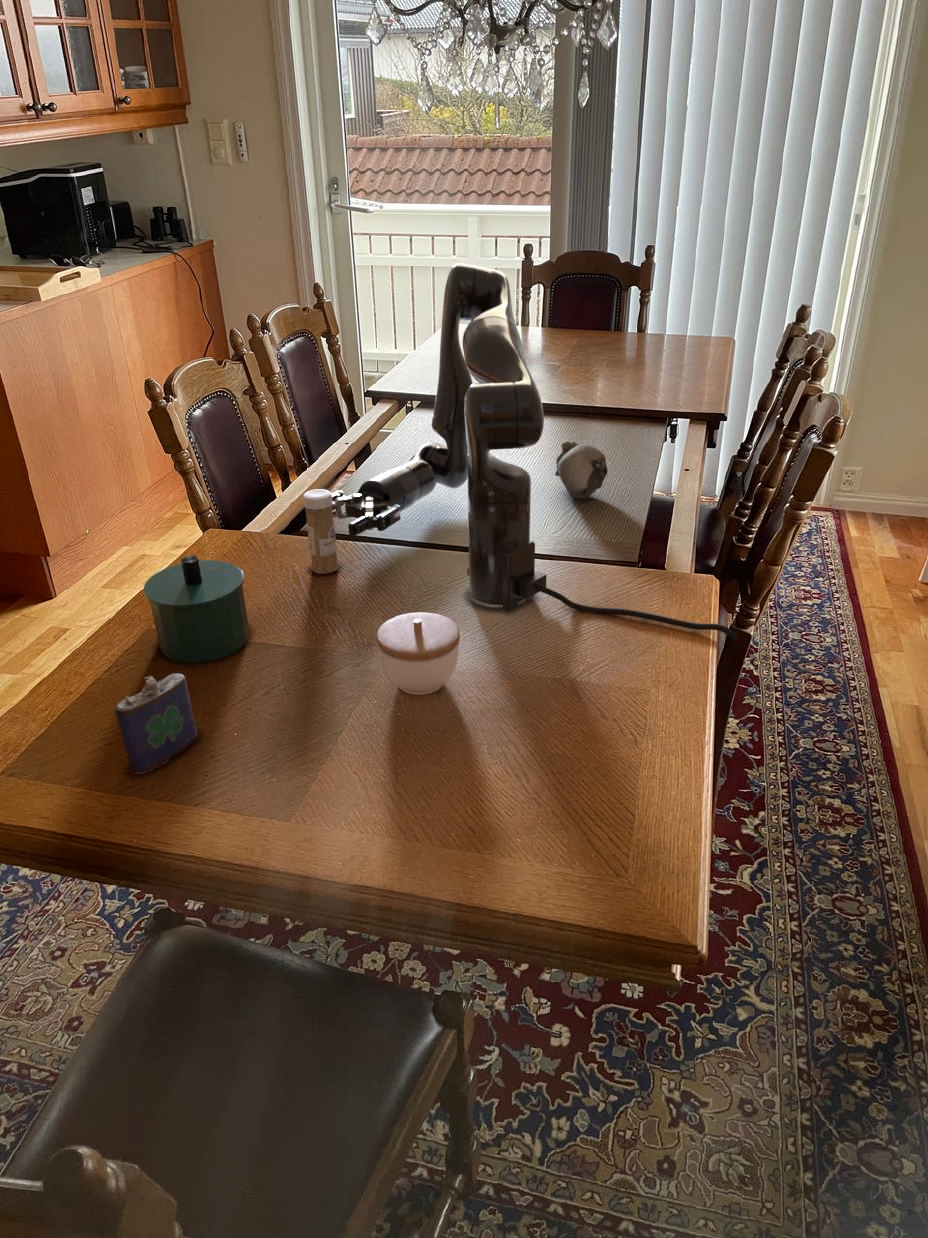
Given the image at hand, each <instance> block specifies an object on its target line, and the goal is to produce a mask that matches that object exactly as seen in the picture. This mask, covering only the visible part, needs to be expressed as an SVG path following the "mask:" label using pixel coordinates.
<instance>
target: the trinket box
mask: <svg viewBox="0 0 928 1238" xmlns="http://www.w3.org/2000/svg"><path fill="white" fill-rule="evenodd" d="M460 633H461V632H460V628H459V626H458V624H457V623H456V622H455V621H453V620H452V619H450V617H447V616H444V615H442V614H439V613H433V612H423V611H419V612H408V613H403V614H400V615H396V616H394V617H392V618H389V619H388V620H386V621H385V622H384V623H382V624H381V626H380V627H379V628H378V630H377V632H376V643H377V647H378V655H379V660H380V664H381V666H382V669H383V671H384V673H385V675H386V677H388V679H389V680H390V682H392V683H393V684H394V685H396V686H397V687H398V688H399V689H400V690H401V691H402V692H404V693H407V694H409V695H414V696H423V695H430V694H432V693H435V692H437V691H439V690H440V689H441V688H442V686H443V685H445V683H447V682H448V680H450V679H451V677H452V675H453V674H454V672H455V670H456V667H457V663H458V661H459V654H460V640H461V639H460V638H461V635H460Z"/></svg>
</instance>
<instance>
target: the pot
mask: <svg viewBox="0 0 928 1238" xmlns="http://www.w3.org/2000/svg"><path fill="white" fill-rule="evenodd" d="M149 605H150V609H151V614H152V618H153V622H154V627H155V631H156V636H157V640H158V643H159V644H158V645H159V649H160V651H161V653H162V654H163V655H164V656H165V657H166V658H168V659H170V660H171V661H174V662H179V663H189V664H197V663H198V664H199V663H200V664H201V663H208V662H212V661H217V660H220V659H222V658H226V657H228V656H230V655H233V654H234V653H236V652H238V651H239V650H240V649H242V648H243V647H244V645H246V643H247V642H248V640H249V639H250V638H249V637H250V632H251V631H250V624H249V618H248V614H247V606H246V600H245V594H244V588H243V585H242V586H241V588H240V589H239V590H238V591H236V592H235V593H234V594H232V595H231V596H229V597H227V598H225V599H223V600H221V601H218V602H215V603H212V604H209V605H204V606H199V607H193V608H168V607H162V606H159V605H156V604H153V603H152V602H150V601H149Z"/></svg>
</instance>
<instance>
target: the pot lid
mask: <svg viewBox="0 0 928 1238" xmlns="http://www.w3.org/2000/svg"><path fill="white" fill-rule="evenodd" d="M244 581H245V576H244V572H243V570H242V569H241V568H240V567H239V566H237V565H235V564H233V563H231V562H227V561H222V560H214V559H203V560H202V559H200V558H199V556H197V555H187V556H184V557H182V558H181V559H180V563H177V564H174V565H171V566H167V567H166V568H163V569H162V570H159V571H158V572H156V573H154V574H153V575H151V576H150V577H149V578H148V579H147V580H146V582H145V583H144V585H143V594H144V597H145V598H146V599H147V601H148V602H149V603H150V602H152V603H153V604H156V605H159V606H162V607H168V608H193V607H199V606H204V605H209V604H212V603H215V602H218V601H221V600H223V599H225V598H227V597H229V596H231V595H232V594H234V593H235V592H236V591H238V590H239V589H240V588H241V586H242V587H243V584H244Z"/></svg>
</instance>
